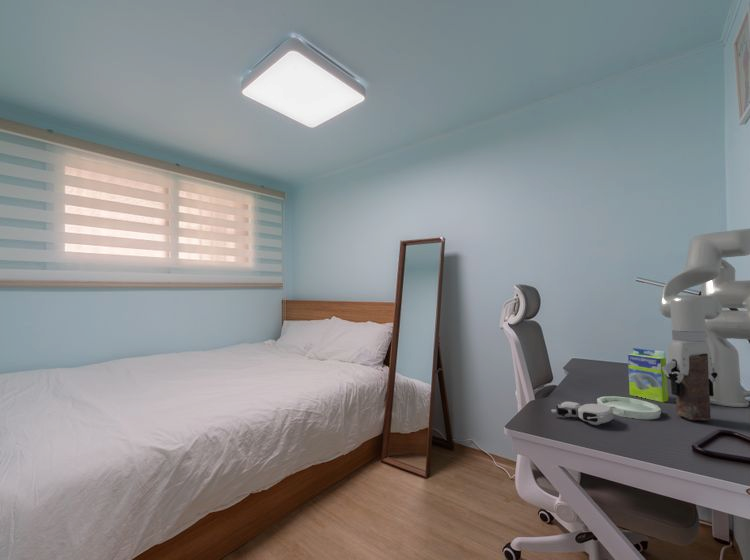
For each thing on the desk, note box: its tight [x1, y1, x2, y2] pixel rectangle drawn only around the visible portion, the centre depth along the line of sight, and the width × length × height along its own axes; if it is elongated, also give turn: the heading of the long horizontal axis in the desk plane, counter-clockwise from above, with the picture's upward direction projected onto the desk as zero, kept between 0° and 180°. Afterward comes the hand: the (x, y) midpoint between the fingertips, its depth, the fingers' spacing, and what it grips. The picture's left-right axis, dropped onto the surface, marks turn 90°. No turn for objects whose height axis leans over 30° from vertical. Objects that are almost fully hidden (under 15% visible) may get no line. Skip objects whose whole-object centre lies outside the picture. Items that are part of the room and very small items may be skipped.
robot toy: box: [550, 401, 615, 426], centre depth 100 cm, size 12×4×15 cm
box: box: [627, 347, 669, 403], centre depth 121 cm, size 10×4×17 cm, turn 28°
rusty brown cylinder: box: [675, 354, 711, 422], centre depth 99 cm, size 8×7×20 cm
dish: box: [596, 395, 662, 421], centre depth 107 cm, size 16×16×2 cm
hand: (692, 395), depth 99 cm, fingers open, 8 cm apart
